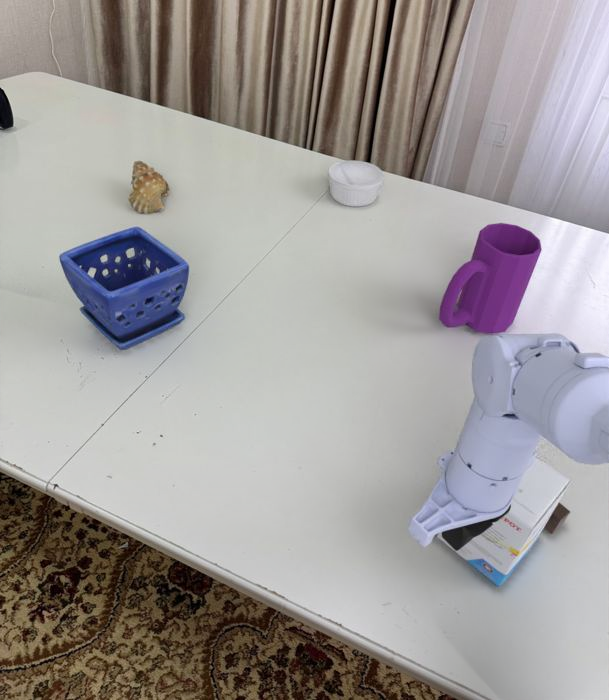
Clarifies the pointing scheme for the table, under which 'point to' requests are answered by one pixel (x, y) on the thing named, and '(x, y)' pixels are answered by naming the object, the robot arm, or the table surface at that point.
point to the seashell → (147, 189)
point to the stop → (557, 518)
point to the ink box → (516, 524)
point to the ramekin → (355, 182)
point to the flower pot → (128, 285)
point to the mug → (492, 280)
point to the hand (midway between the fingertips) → (453, 539)
